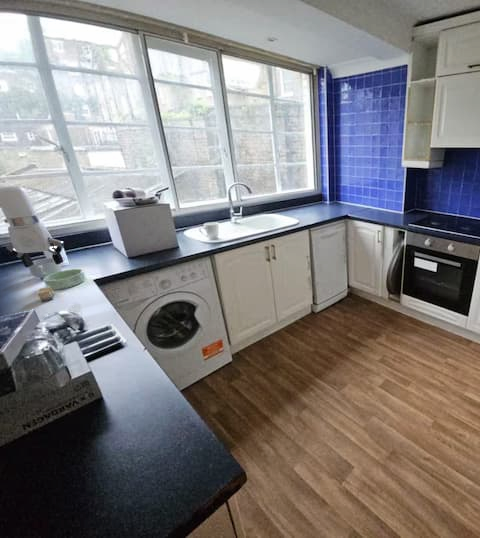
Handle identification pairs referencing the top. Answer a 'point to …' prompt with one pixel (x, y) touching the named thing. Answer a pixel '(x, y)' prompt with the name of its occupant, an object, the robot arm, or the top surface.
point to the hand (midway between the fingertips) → (45, 264)
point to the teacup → (44, 267)
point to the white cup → (63, 254)
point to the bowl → (64, 279)
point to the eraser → (46, 294)
